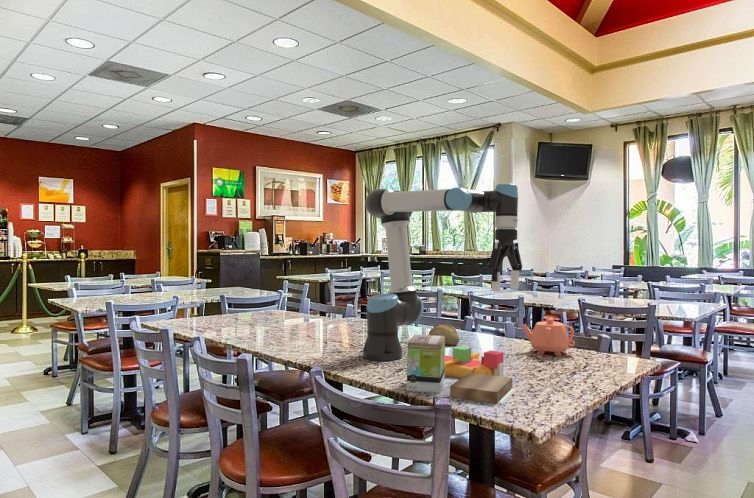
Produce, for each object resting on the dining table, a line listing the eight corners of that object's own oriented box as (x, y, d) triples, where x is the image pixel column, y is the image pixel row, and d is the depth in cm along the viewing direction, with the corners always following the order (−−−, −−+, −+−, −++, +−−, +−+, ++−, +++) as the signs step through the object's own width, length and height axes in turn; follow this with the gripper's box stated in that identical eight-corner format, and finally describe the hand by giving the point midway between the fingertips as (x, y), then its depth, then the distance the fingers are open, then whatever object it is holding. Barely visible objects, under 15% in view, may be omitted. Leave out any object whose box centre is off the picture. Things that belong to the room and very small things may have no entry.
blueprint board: (438, 397, 147) (438, 394, 147) (457, 384, 162) (457, 381, 162) (503, 406, 139) (503, 403, 139) (517, 391, 153) (517, 388, 153)
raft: (440, 362, 193) (440, 337, 193) (516, 375, 174) (516, 348, 174) (401, 373, 176) (401, 346, 176) (481, 390, 157) (481, 359, 157)
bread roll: (436, 340, 237) (436, 322, 237) (464, 344, 227) (464, 325, 227) (423, 342, 230) (423, 324, 230) (451, 347, 220) (451, 328, 220)
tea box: (441, 395, 149) (441, 343, 149) (405, 393, 151) (406, 341, 151) (445, 382, 164) (445, 334, 164) (412, 380, 166) (413, 333, 166)
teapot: (519, 350, 213) (519, 317, 213) (551, 347, 221) (551, 315, 221) (549, 358, 199) (549, 322, 199) (581, 354, 206) (582, 320, 206)
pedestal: (450, 396, 145) (450, 385, 145) (469, 382, 160) (469, 372, 160) (497, 403, 139) (497, 392, 139) (512, 387, 154) (512, 377, 154)
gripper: (498, 227, 172) (497, 293, 172) (532, 229, 190) (531, 288, 190) (477, 227, 177) (477, 291, 177) (513, 229, 195) (512, 287, 195)
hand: (505, 290), depth 184 cm, fingers open, 13 cm apart
